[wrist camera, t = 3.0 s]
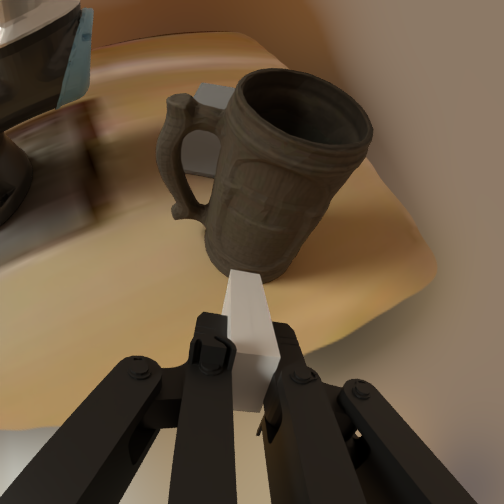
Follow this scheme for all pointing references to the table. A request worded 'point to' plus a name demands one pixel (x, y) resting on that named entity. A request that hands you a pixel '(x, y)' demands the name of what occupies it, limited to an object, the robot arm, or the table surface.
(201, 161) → the mat
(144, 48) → the table surface
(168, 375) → the robot arm
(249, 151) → the beer stein
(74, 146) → the table surface
